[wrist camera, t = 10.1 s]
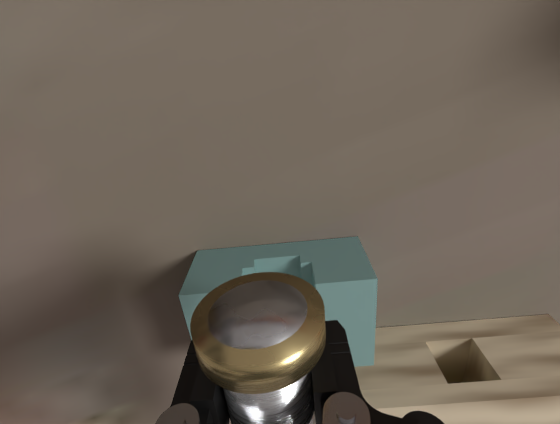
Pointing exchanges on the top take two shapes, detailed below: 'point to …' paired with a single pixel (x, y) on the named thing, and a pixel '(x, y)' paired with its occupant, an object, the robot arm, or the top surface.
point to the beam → (468, 371)
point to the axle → (262, 346)
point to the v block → (308, 266)
